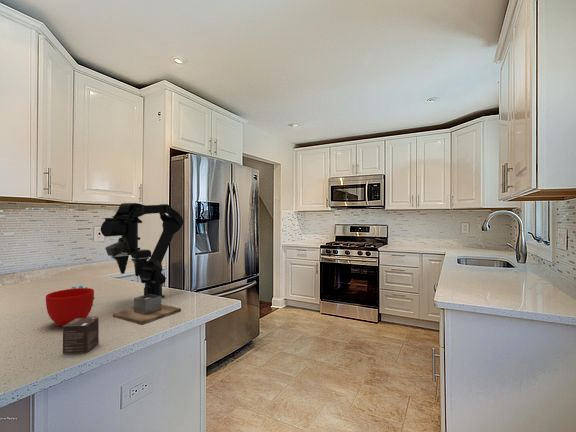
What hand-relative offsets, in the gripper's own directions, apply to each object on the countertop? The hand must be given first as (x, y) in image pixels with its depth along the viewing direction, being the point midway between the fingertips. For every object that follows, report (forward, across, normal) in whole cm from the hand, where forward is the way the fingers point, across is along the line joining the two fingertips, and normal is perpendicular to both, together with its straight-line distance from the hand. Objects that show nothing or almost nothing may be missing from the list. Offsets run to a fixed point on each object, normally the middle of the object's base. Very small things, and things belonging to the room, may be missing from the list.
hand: (129, 274), depth 120 cm
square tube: (+11, +15, -3) cm, 19 cm away
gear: (+12, -16, -11) cm, 23 cm away
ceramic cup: (+12, 0, -20) cm, 23 cm away
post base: (+12, +15, -3) cm, 19 cm away
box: (+12, +25, -30) cm, 41 cm away
